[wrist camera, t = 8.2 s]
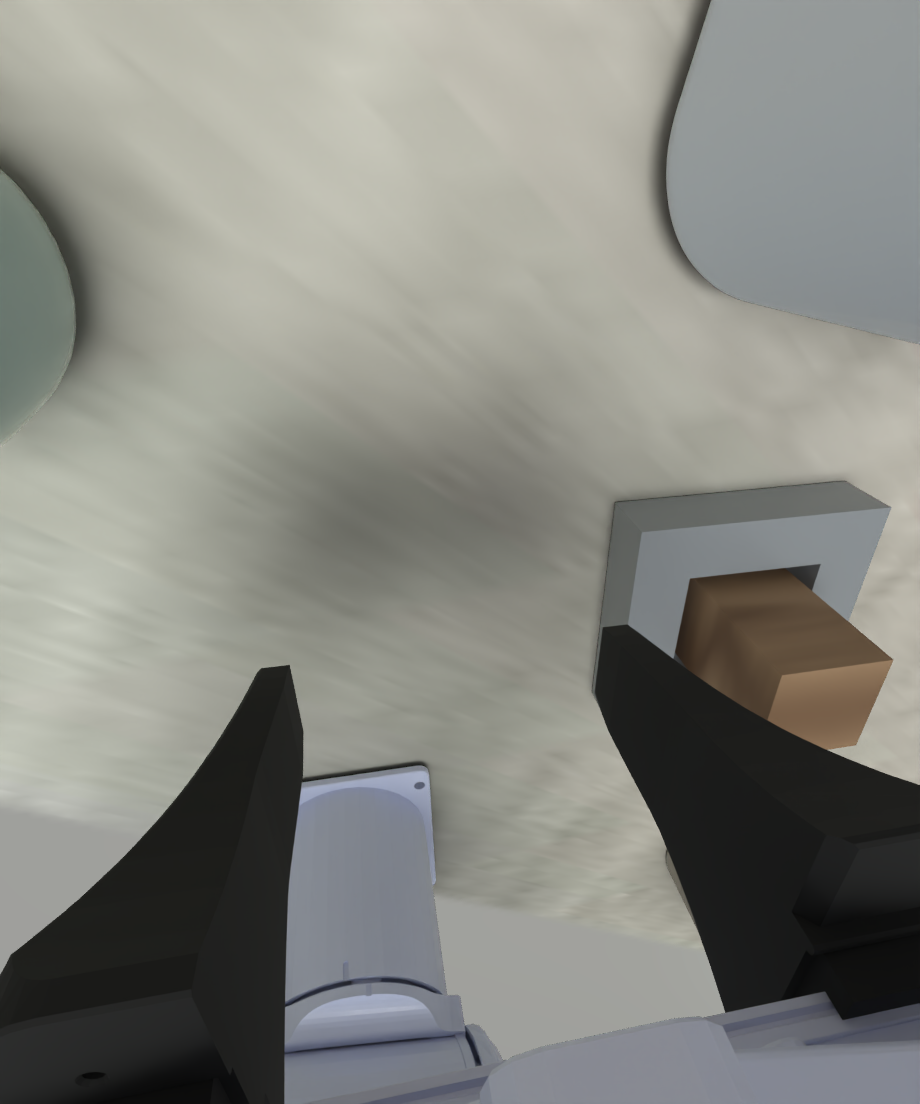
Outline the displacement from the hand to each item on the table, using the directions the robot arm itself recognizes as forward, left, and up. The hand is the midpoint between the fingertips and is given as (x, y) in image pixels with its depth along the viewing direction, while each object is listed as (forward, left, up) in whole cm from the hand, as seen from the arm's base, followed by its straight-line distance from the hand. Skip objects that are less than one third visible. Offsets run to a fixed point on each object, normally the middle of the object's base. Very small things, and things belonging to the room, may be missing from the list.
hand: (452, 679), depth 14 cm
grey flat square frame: (-6, -13, -10) cm, 17 cm away
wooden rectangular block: (-6, -13, -10) cm, 17 cm away
